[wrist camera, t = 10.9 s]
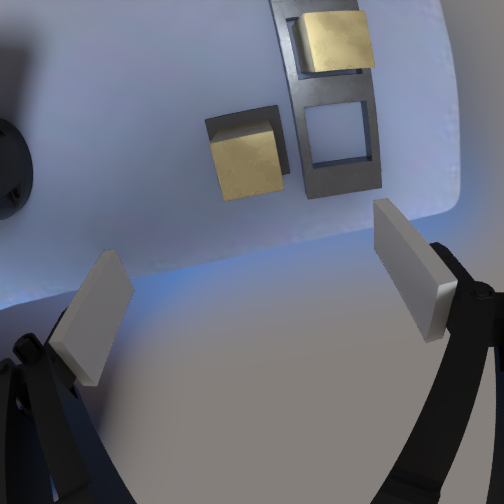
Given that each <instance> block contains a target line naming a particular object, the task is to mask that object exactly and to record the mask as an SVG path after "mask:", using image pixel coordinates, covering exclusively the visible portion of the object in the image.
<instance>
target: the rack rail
mask: <svg viewBox="0 0 504 504" xmlns="http://www.w3.org/2000/svg"><path fill="white" fill-rule="evenodd" d="M269 4H270V8H271V12H272V16H273V21H274V25H275V29H276V34H277V38H278V43H279V47H280V52H281V56H282V61H283V66H284V71H285V76H286V81H287V86H288V91H289V96H290V101H291V107H292V112H293V117H294V123H295V129H296V134H297V140H298V146H299V152H300V159H301V165H302V171H303V178H304V184H305V191H306V195H307V197H308V200H309V199H315V198H321V197H327V196H333V195H339V194H345V193H352V192H358V191H365V190H371V189H378V188H382V180H381V161H380V146H379V134H378V124H377V114H376V105H375V97H374V89H373V82H372V75H371V69H370V68H356V72H357V74H344V75H333V76H323V77H314V78H306V79H299V80H298V76H297V71H296V66H295V61H294V56H293V51H292V47H291V42H290V37H289V33H288V28H287V24H286V21H289V20H298V18H299V17H300V16H301V15H302V14H303V13H313V12H328V11H359V7H358V3H357V0H269ZM354 101H361V106H362V114H363V123H364V132H365V142H366V153H367V156H364V157H357V158H349V159H342V160H335V161H328V162H322V163H315V164H312V158H311V151H310V145H309V138H308V132H307V126H306V120H305V114H304V108H303V107H310V106H318V105H326V104H334V103H344V102H354Z"/></svg>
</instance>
